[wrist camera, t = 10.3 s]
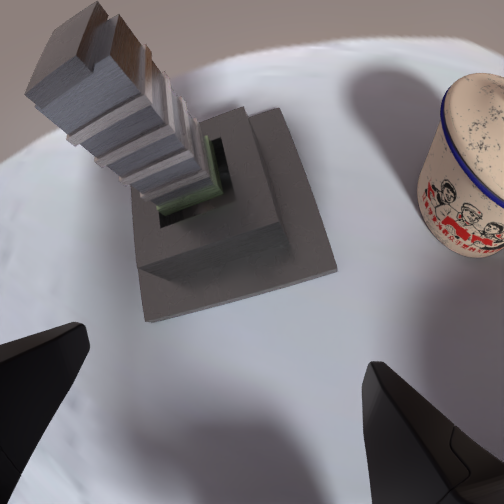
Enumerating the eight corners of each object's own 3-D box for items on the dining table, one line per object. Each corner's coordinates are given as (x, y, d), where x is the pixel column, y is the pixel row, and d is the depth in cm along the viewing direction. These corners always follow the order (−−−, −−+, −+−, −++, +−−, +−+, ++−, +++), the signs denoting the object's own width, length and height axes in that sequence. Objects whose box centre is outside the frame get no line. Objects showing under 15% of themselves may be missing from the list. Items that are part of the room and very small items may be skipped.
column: (225, 201, 18) (95, 42, 7) (165, 222, 19) (11, 106, 8) (212, 138, 20) (112, -9, 8) (159, 160, 20) (41, 39, 9)
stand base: (337, 271, 20) (337, 245, 15) (152, 322, 23) (100, 314, 17) (281, 115, 25) (265, 64, 19) (136, 171, 28) (98, 137, 22)
